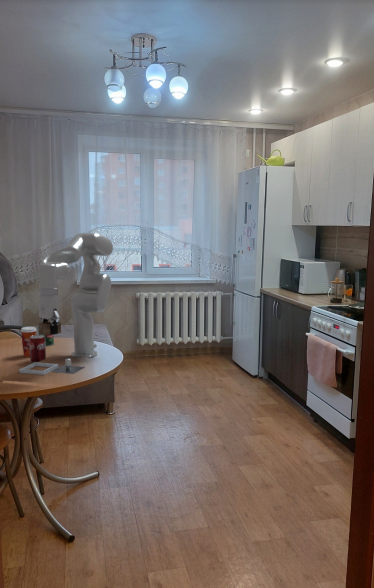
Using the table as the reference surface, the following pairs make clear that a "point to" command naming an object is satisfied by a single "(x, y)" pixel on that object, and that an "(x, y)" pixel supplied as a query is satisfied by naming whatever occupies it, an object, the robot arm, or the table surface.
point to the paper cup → (27, 339)
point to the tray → (25, 370)
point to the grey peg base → (68, 368)
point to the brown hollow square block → (47, 328)
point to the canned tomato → (48, 339)
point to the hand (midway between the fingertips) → (50, 332)
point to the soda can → (37, 348)
